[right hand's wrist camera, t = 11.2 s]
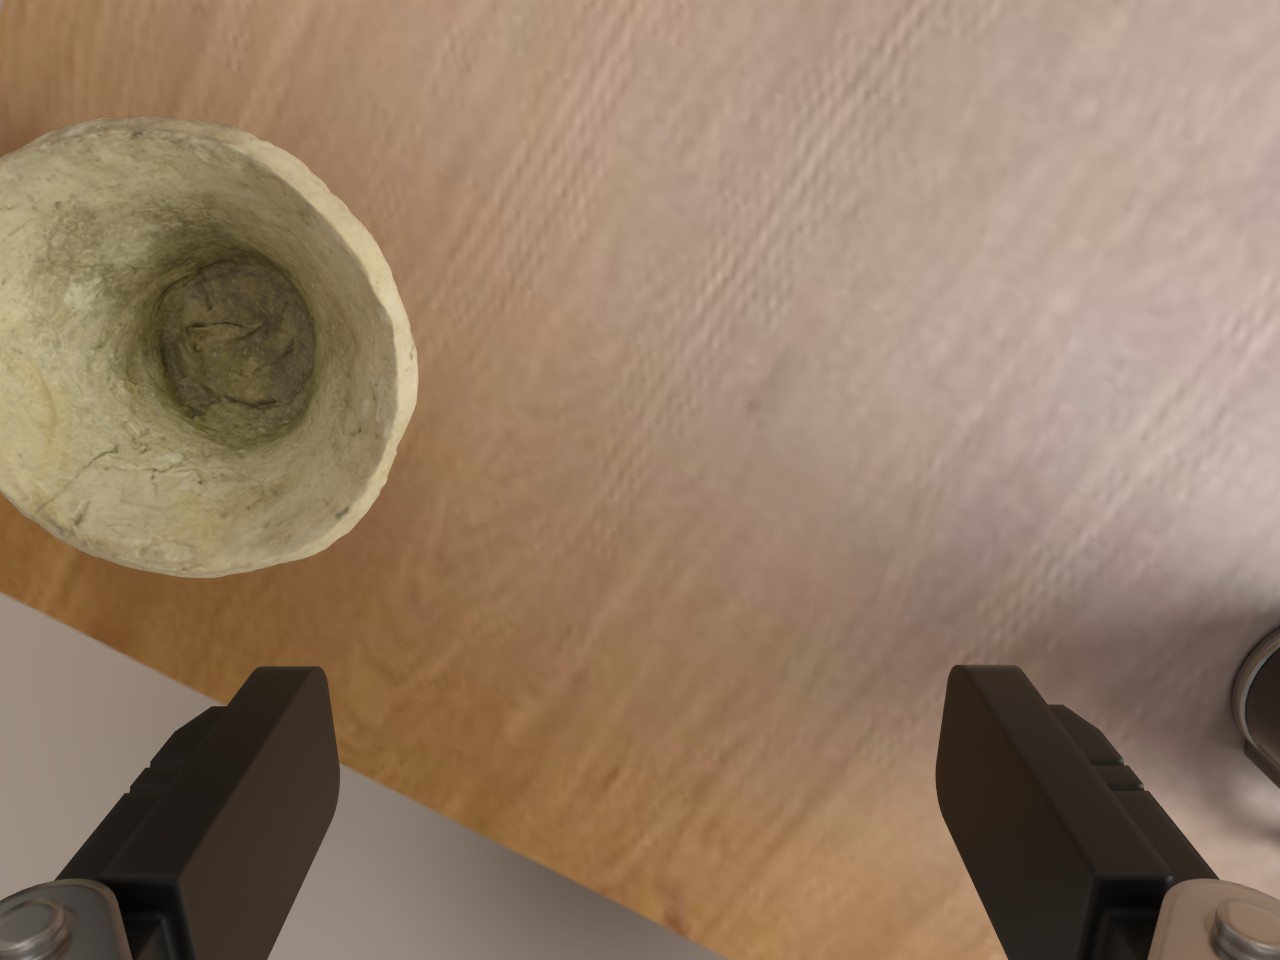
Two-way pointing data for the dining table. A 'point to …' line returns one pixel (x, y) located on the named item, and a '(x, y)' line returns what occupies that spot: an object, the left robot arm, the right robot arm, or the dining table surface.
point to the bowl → (192, 348)
